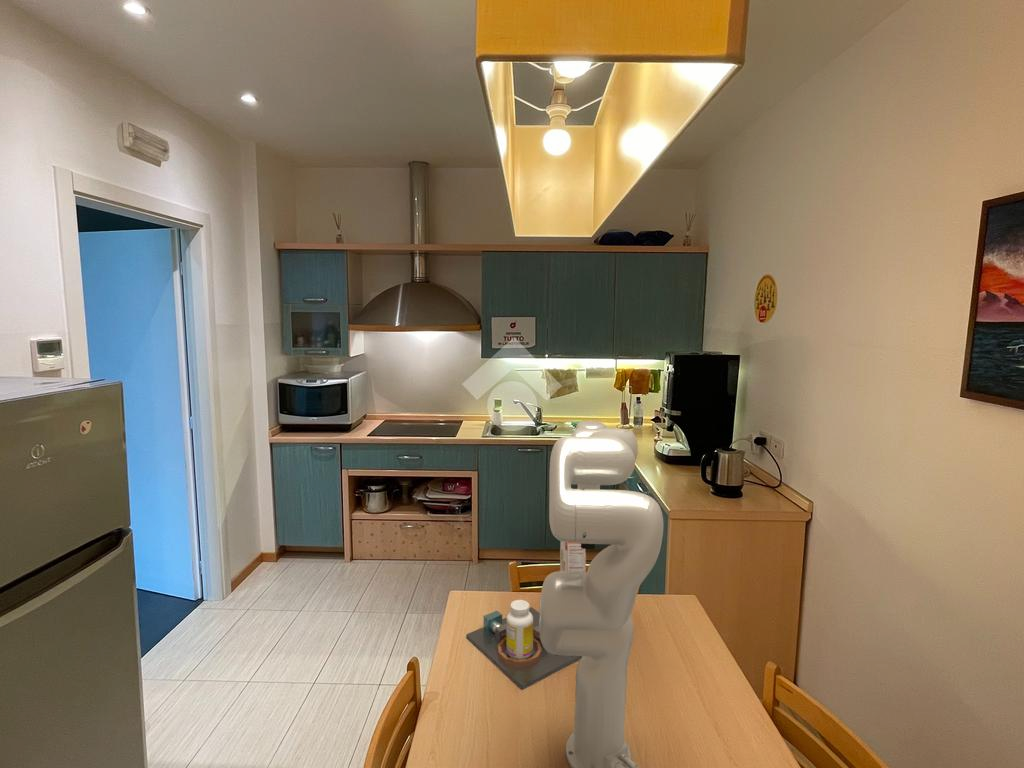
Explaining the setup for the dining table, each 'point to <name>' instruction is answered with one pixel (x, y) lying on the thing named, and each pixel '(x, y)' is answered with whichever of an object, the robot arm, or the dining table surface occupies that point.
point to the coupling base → (518, 671)
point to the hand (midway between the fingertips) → (587, 539)
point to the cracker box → (572, 557)
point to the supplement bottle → (519, 630)
